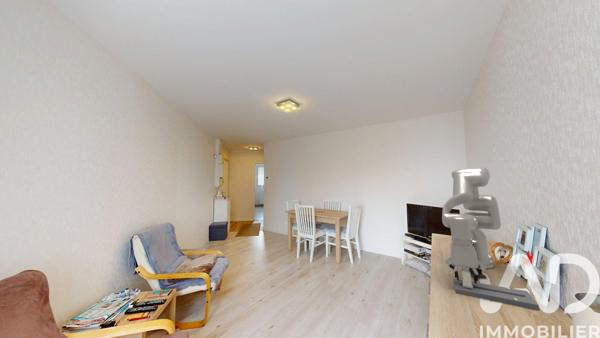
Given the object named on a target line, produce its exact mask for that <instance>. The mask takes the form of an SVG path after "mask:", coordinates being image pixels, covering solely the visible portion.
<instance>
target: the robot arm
mask: <svg viewBox="0 0 600 338" xmlns="http://www.w3.org/2000/svg"><path fill="white" fill-rule="evenodd" d="M490 176H491V175H490V172H489V170H488V169H487V168H486V167H473V168H472V167H471V168H461V169H455V170H452V172H451V177H452V181H453V183H452V186H453V187H452V189H453V190H452V197H450V198H448V200H447V201H446V202H445V203H444V204H443V206H442V210H441V211H442V213H441V215H442V216H441V220H442V224H443V226H444V227H446V228H449V229H450V233H451V234H450V235H451V243H450V244H449V245H450V247H449V252H450V253H449V254H450V256H449V257H448V258H447V259H445V261H444V263H445V264H446V265H447V266H448V267H449V268H450V269H451V270H453V271H454V272H453V273H454V279H457V280H458V281H459V279H460V277H459V271H458V268H459V267H460V268H466V269H469V268H472V269H473V271H474V272H473V277H474V278H473V277H472V278H473V282H475V284H477V283H478V282H479V278H478V274H479V273H481V272H482V273H483V271H484V270H485V271H486V269H493V268H494V264H493V263H492V262H493V261H495V260H496V259H495V257H493V256H490V255H489V248H488V241H487V235H486V234H485V233H484V232H483V231H482V229H483V230H492V231H493V230H494V231H495V230H496V231H497V230H500V229H501V226H502V224H501V216H500V211H499V205H498V201H497V198H496V197H494V196H493V195H491V194H490V195H489V194H483V195H482V194H481V195H480V193H479V188H480V187H482V188H483V187H486V186H487V185H488V184H489V180H490ZM460 205H462V206H463V208H464V210H467V211H468V212H464V213H451V210H453V208H455V207H458V206H460ZM469 211H472V212H469ZM473 211H475V212H473ZM471 239H472V240H471ZM472 244H474V245H475V247H474V246H473V245H472ZM475 248H476V250H475ZM477 257H478V259H479V261H478V259H477ZM450 262H451V263H450ZM478 264H479V265H480V266H481V267H480V268H478V267H479V265H478ZM476 268H478V269H477V270H476Z"/></svg>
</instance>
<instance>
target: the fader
mask: <svg viewBox="0 0 600 338" xmlns="http://www.w3.org/2000/svg"><path fill="white" fill-rule="evenodd" d="M460 273H461V279H460V280H462V284H463V287H466V288H471V289H473V286H472V283H471V281H472V278H471V277H472V275H471V274H470V271H469V268H467V267H460Z"/></svg>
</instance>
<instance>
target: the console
mask: <svg viewBox="0 0 600 338" xmlns="http://www.w3.org/2000/svg"><path fill="white" fill-rule="evenodd" d="M471 283H472V286H473V289H471V288H466V287H463V284H462V280H461V279H460V278H459V281H458V280H457V278H455V277H453V285H454V291H455V294H457V295H461V296H462V295H463V296H468V297H472V298H476V299H482V300H487V301H491V302H496V303H501V304H506V305H511V306H515V307H521V308H525V309H531V310H536V311H540V306H539V304H538V303H537V302H536V300H535V298H533V297H532V295H531V294H530V293H529V291H528V290H523V289H517V288H511V287H507V286H506V287H505V286H500V285H495V284H494V285H493V284H489V283H488V284H487V283H483V282H477V284H475V282H474V281H472V280H471Z"/></svg>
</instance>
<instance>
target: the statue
mask: <svg viewBox="0 0 600 338" xmlns="http://www.w3.org/2000/svg"><path fill="white" fill-rule="evenodd" d="M471 240H472V239H471ZM472 245H473V246H474V247H475V245H474V244H472ZM475 250H476V248H475ZM477 259H478V257H477ZM478 261H479V259H478ZM478 265H479V264H478ZM480 267H481V266H480V265H479V267H478V268H480ZM478 268H476V270H477V269H478ZM468 269H469V271H470V275H471V277H472V278H473V279H474V277H473V272H474V271H473V269H472V268H468ZM487 278H488V277H487V275H486V274H484V273H483V271H482V272H481V273H479V274H478V279H485V280H486V279H487Z"/></svg>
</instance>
